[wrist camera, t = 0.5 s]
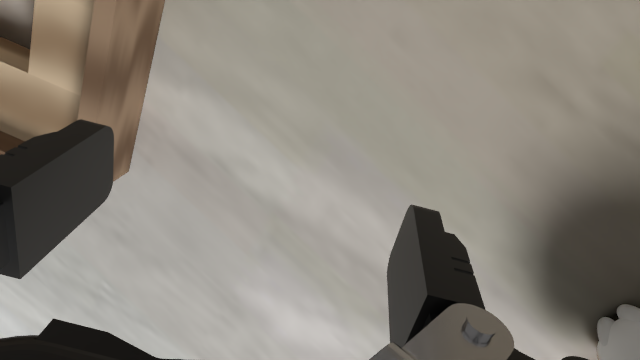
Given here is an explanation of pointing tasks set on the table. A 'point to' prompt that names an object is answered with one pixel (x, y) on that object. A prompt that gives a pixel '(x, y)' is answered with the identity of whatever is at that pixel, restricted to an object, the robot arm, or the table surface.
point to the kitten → (620, 335)
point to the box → (80, 71)
